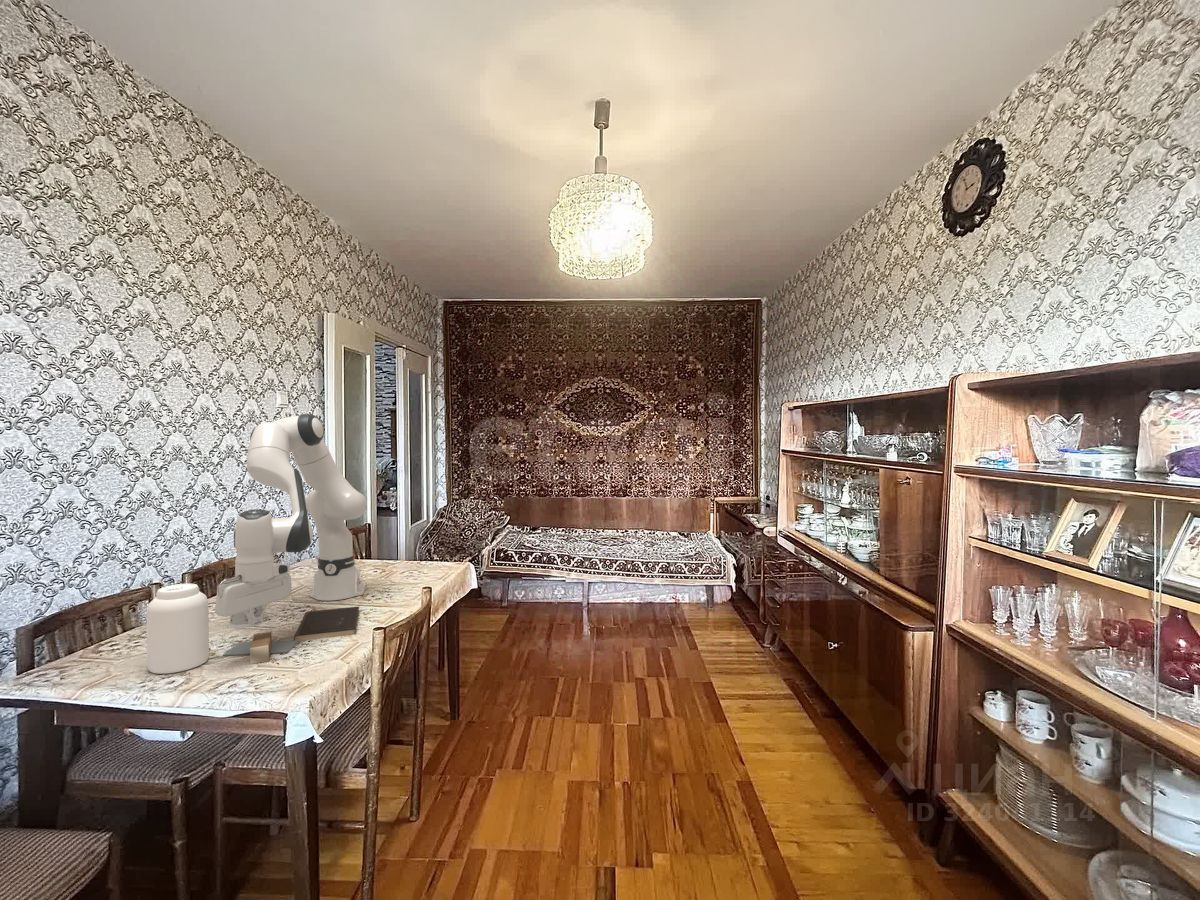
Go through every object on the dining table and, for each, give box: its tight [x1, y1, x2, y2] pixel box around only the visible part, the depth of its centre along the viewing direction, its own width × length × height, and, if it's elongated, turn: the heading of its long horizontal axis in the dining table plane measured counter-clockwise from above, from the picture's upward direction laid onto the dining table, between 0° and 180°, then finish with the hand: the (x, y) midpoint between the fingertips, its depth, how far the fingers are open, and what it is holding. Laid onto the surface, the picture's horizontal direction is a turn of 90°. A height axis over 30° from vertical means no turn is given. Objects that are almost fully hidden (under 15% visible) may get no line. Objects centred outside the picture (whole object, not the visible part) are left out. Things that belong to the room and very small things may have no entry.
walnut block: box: [249, 631, 273, 665], centre depth 148 cm, size 4×4×10 cm
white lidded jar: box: [146, 582, 210, 675], centre depth 142 cm, size 12×12×20 cm
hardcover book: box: [293, 605, 360, 641], centre depth 172 cm, size 16×23×2 cm
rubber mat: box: [222, 639, 302, 657], centre depth 153 cm, size 9×16×1 cm, turn 98°
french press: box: [226, 608, 264, 629], centre depth 175 cm, size 10×12×25 cm
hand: (255, 623), depth 149 cm, fingers closed
